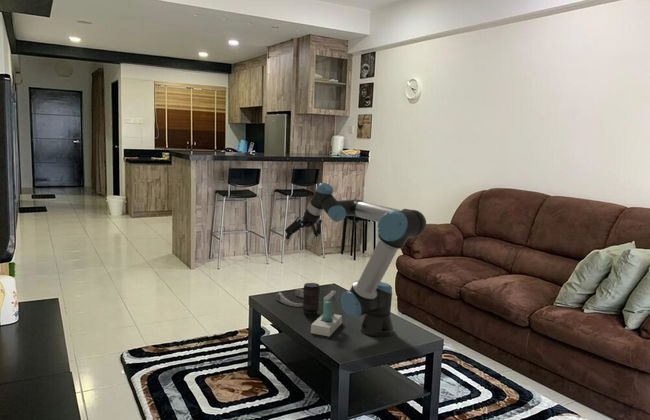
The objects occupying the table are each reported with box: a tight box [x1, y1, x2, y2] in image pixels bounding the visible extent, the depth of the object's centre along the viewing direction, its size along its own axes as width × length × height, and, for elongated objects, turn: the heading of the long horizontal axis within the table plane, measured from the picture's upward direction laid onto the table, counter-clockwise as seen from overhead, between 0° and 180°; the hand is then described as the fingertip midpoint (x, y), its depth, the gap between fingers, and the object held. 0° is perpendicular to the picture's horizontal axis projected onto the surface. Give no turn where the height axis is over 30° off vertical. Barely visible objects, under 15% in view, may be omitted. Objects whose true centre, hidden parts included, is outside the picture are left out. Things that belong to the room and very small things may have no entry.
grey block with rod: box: [310, 295, 343, 337], centre depth 232 cm, size 9×18×14 cm, turn 161°
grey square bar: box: [322, 289, 337, 302], centre depth 233 cm, size 2×13×2 cm, turn 160°
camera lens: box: [302, 282, 321, 317], centre depth 251 cm, size 8×8×15 cm
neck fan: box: [276, 287, 304, 308], centre depth 269 cm, size 18×17×5 cm
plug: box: [322, 300, 333, 323], centre depth 232 cm, size 5×5×11 cm
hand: (297, 243), depth 252 cm, fingers open, 13 cm apart
